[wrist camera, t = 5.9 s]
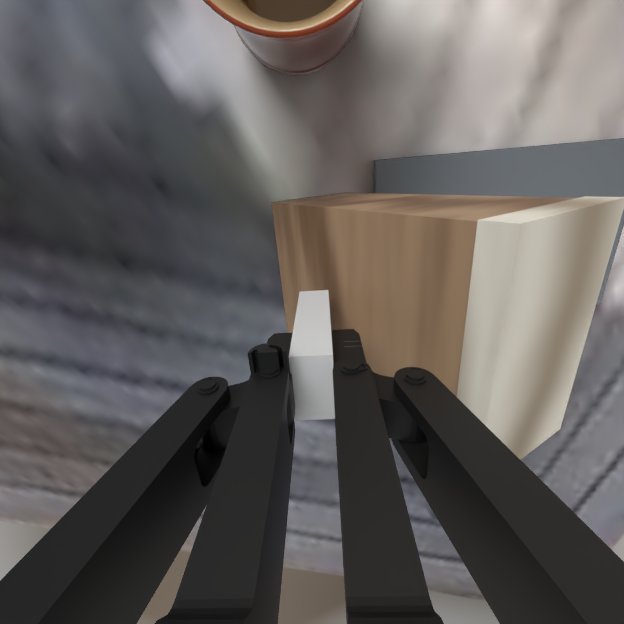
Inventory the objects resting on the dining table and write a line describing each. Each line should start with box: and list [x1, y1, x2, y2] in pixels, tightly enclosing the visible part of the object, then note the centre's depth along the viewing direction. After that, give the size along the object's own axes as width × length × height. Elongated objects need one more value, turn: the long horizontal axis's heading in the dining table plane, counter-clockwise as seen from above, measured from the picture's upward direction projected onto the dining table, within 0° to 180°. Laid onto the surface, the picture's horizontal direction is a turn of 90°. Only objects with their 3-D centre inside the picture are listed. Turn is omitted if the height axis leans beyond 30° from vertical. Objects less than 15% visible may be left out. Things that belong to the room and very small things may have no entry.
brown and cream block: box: [272, 193, 624, 460], centre depth 18 cm, size 6×10×16 cm
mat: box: [374, 138, 624, 304], centre depth 25 cm, size 18×12×1 cm, turn 95°
